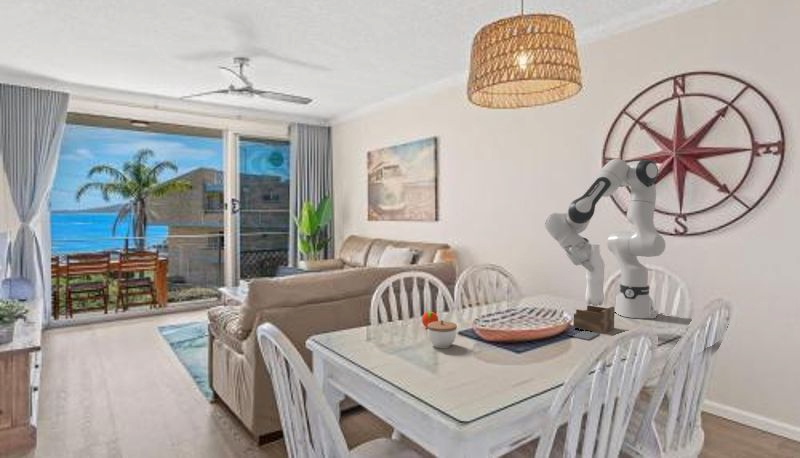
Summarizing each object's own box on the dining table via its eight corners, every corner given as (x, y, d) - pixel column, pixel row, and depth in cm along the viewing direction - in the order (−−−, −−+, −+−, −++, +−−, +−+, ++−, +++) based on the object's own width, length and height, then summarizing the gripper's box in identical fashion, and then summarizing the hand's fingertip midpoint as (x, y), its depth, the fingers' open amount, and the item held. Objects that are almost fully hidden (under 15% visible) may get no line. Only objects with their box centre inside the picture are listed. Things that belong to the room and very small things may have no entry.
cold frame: (585, 323, 197) (585, 302, 197) (614, 328, 189) (614, 306, 188) (573, 328, 189) (573, 307, 188) (602, 333, 180) (603, 311, 180)
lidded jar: (455, 351, 159) (455, 324, 159) (425, 349, 161) (425, 323, 161) (457, 342, 170) (457, 317, 169) (429, 340, 172) (429, 316, 172)
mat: (572, 329, 187) (572, 328, 187) (599, 334, 179) (599, 333, 179) (560, 334, 179) (560, 333, 179) (588, 340, 172) (588, 339, 172)
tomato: (437, 331, 185) (437, 313, 185) (420, 330, 186) (420, 313, 186) (438, 326, 193) (438, 309, 193) (422, 325, 194) (422, 309, 194)
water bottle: (606, 306, 185) (608, 245, 184) (589, 306, 185) (590, 245, 184) (599, 302, 192) (600, 244, 191) (582, 302, 192) (583, 244, 191)
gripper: (568, 241, 185) (591, 267, 178) (588, 238, 199) (611, 262, 193) (557, 251, 188) (580, 277, 182) (578, 247, 203) (600, 271, 196)
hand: (596, 269), depth 187 cm, fingers closed on water bottle, 7 cm apart
